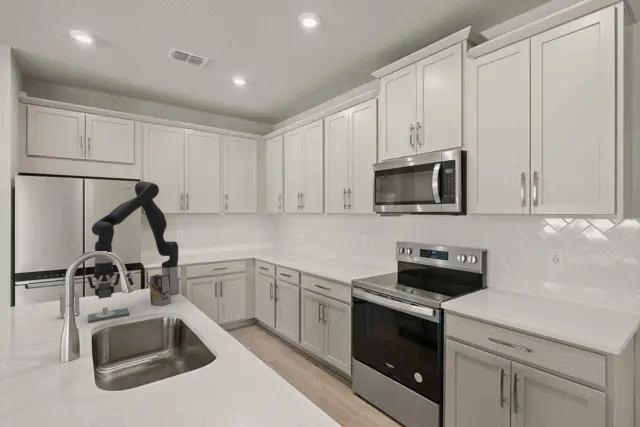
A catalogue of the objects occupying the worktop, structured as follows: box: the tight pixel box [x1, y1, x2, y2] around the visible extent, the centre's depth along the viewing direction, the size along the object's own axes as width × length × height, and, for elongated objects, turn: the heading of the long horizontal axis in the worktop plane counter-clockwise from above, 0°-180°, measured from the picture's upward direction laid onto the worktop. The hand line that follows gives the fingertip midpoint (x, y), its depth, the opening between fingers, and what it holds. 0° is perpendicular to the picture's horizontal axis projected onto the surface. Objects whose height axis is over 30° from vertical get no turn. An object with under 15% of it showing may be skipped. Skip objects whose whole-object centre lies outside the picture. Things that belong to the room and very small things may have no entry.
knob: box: [97, 281, 112, 299], centre depth 161 cm, size 5×5×7 cm
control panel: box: [87, 307, 130, 324], centre depth 162 cm, size 17×11×4 cm, turn 126°
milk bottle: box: [59, 277, 81, 319], centre depth 163 cm, size 8×8×20 cm
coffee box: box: [149, 274, 172, 307], centre depth 182 cm, size 9×6×16 cm
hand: (104, 294), depth 161 cm, fingers closed on knob, 5 cm apart
